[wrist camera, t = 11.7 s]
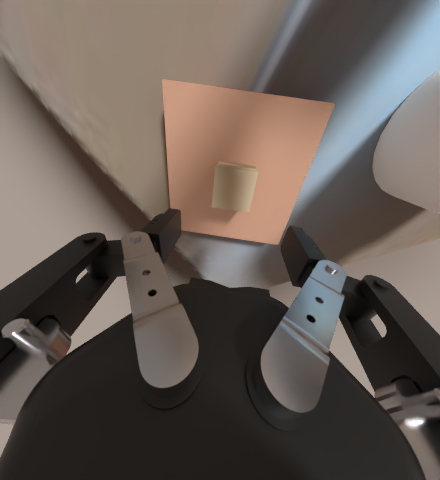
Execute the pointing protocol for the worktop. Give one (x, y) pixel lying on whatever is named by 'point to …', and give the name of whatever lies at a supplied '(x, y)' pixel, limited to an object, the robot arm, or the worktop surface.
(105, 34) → the worktop surface
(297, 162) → the terracotta platform
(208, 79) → the worktop surface
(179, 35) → the worktop surface
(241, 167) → the maple block
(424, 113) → the cylinder
